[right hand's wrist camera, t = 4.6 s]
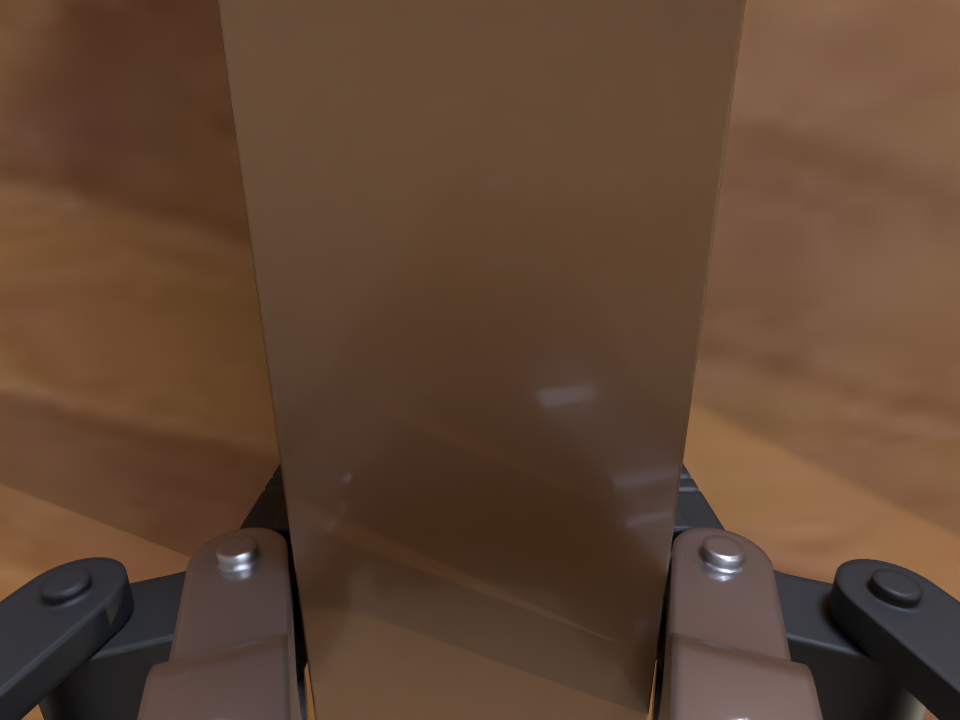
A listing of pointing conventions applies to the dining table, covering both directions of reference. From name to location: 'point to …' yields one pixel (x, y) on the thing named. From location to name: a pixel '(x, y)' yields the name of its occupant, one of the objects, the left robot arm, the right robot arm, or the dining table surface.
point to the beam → (481, 332)
